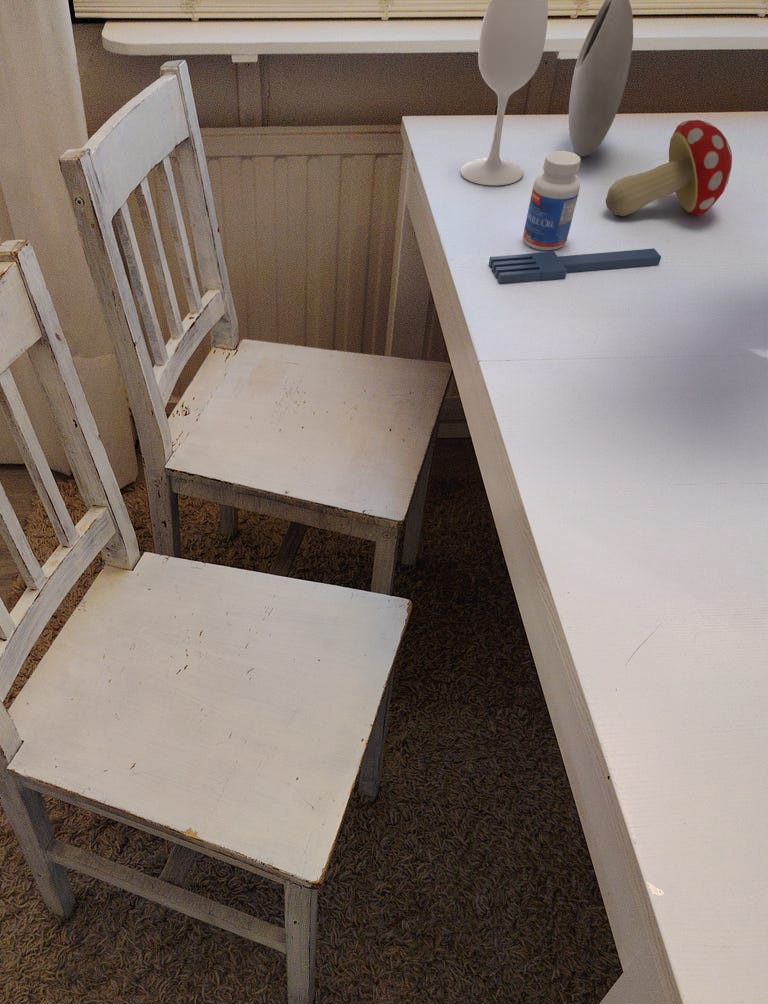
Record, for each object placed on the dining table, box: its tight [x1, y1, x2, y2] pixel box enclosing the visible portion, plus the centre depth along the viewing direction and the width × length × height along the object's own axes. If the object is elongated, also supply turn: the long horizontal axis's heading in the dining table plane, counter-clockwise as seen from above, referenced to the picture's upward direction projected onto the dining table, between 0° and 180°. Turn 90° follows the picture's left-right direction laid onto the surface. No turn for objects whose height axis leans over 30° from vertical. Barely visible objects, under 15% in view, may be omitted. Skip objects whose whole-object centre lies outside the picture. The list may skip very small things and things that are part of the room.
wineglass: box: [460, 0, 549, 186], centre depth 108 cm, size 9×9×21 cm
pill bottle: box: [522, 150, 581, 251], centre depth 99 cm, size 6×5×10 cm
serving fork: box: [488, 248, 662, 284], centre depth 98 cm, size 20×5×1 cm, turn 97°
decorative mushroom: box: [605, 119, 733, 217], centre depth 104 cm, size 11×11×15 cm
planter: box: [568, 0, 634, 157], centre depth 113 cm, size 18×7×19 cm, turn 165°
